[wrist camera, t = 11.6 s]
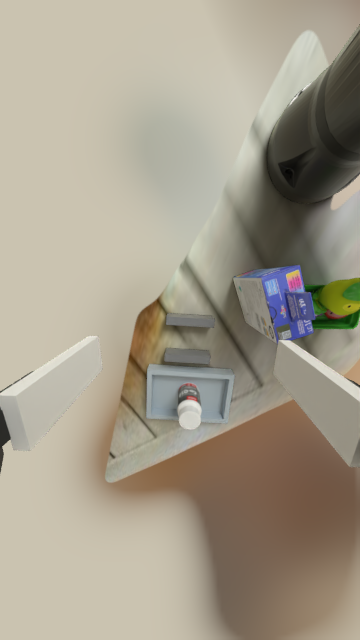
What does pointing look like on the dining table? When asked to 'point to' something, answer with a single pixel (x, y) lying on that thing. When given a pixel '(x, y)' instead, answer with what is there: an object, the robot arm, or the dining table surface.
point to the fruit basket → (336, 304)
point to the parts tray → (170, 377)
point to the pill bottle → (189, 406)
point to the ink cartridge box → (276, 302)
